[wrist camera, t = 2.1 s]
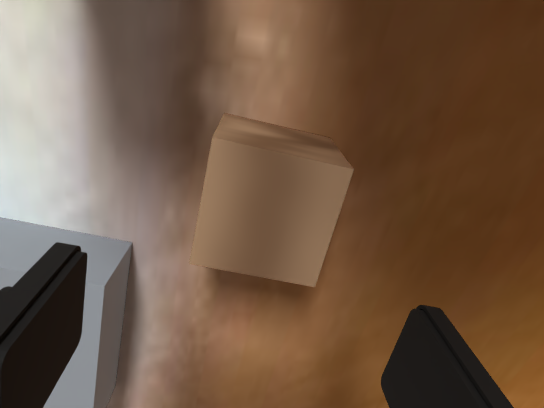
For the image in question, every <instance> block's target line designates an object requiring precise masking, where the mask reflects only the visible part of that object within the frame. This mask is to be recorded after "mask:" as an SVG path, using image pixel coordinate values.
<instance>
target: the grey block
mask: <svg viewBox="0 0 544 408" xmlns="http://www.w3.org/2000/svg"><path fill="white" fill-rule="evenodd" d="M56 242H60V243H66V244H71V245H77V246H80V247H81V252H85V253H87V271H86V284H85V298H84V311H83V324H82V335H81V339H80V342H79V344H78V347H77V349H76V350H75V352H74V354H73V356H72V357H71V359H70V361H69V363H68V364H67V366H66V368H65V370H64V372H63V373H62V375H61V377H60V379H59V380H58V382H57V384H56V386H55V387H54V389H53V391H52V393H51V395H50V396H49V398H48V400H47V402H46V403H45V405H44V407H43V408H106V407H107V405H108V402H109V400H110V397H111V395H112V393H113V390H114V388H115V385H116V378H117V369H118V361H119V352H120V343H121V335H122V326H123V318H124V309H125V301H126V292H127V284H128V275H129V267H130V258H131V250H132V242H128V241H122V240H117V239H112V238H107V237H101V236H96V235H91V234H86V233H80V232H75V231H70V230H64V229H59V228H54V227H49V226H43V225H38V224H33V223H28V222H22V221H17V220H12V219H7V218H1V217H0V290H1V289H2V288H4V287H7V286H10V287H13V286H14V285H15V284H16V283H17V282H18V281H19V280H20V278H21V277H22V276H23V275H24V274H25V273H26V272H27V271H28V270H29V269H30V268H31V267H32V266H33V265H34V264H35V263H36V262H37V261H38V260H39V259H40V258H41V257H42V256H43V255H44V254H45V253H46V252H47V251H48V250H49V249H50V248H51V247H52V246H53V245H54V244H55V243H56Z"/></svg>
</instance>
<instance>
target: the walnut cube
mask: <svg viewBox="0 0 544 408" xmlns="http://www.w3.org/2000/svg"><path fill="white" fill-rule="evenodd" d="M353 171H354V169H353V167H352V166H351V165H350V163H349V162H348V161H347V159H346V158H345V157H344V155H343V154H342V153H341V152H340V150H339V149H338V148H337V146H336V145H335V144H334V142H333V141H332V140H331V138H329V137H325V136H321V135H316V134H312V133H308V132H304V131H299V130H295V129H291V128H287V127H282V126H278V125H274V124H269V123H265V122H261V121H257V120H252V119H248V118H244V117H240V116H235V115H231V114H227V113H224V115H223V117H222V119H221V121H220V123H219V125H218V127H217V129H216V131H215V133H214V135H213V137H212V141H211V147H210V152H209V158H208V163H207V169H206V174H205V179H204V185H203V190H202V196H201V201H200V207H199V212H198V218H197V223H196V228H195V234H194V239H193V245H192V250H191V256H190V261H189V264H192V265H198V266H203V267H208V268H214V269H219V270H224V271H230V272H235V273H241V274H246V275H251V276H257V277H262V278H267V279H273V280H278V281H284V282H289V283H294V284H300V285H305V286H310V287H315V285H316V282H317V279H318V276H319V273H320V270H321V267H322V264H323V261H324V258H325V255H326V252H327V249H328V246H329V243H330V240H331V237H332V234H333V231H334V228H335V225H336V222H337V219H338V216H339V213H340V210H341V207H342V204H343V201H344V198H345V195H346V192H347V189H348V186H349V183H350V180H351V177H352V174H353Z"/></svg>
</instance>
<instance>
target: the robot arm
mask: <svg viewBox="0 0 544 408" xmlns="http://www.w3.org/2000/svg"><path fill="white" fill-rule="evenodd" d="M86 271H87V253H85V252H81V247H80V246H77V245H71V244H66V243H60V242H56V243H55V244H54V245H53V246H52V247H51V248H50V249H49V250H48V251H47V252H46V253H45V254H44V255H43V256H42V257H41V258H40V259H39V260H38V261H37V262H36V263H35V264H34V265H33V266H32V267H31V268H30V269H29V270H28V271H27V272H26V273H25V274H24V275H23V276H22V277H21V278H20V280H19V281H18V282H17V283H16V284H15V285H14V286H13V287H10V286H7V287H4V288H2V289H1V290H0V408H43V407H44V405H45V403H46V402H47V400H48V398H49V396H50V395H51V393H52V391H53V389H54V387H55V386H56V384H57V382H58V380H59V379H60V377H61V375H62V373H63V372H64V370H65V368H66V366H67V364H68V363H69V361H70V359H71V357H72V356H73V354H74V352H75V350H76V349H77V347H78V344H79V342H80V339H81V335H82V324H83V311H84V298H85V284H86ZM381 386H382V390H383V393H384V395H385V398H386V400H387V403H388V405H389V408H514V407H513V406H512V405H511V403H510V402H509V401H508V399H507V398H506V397H505V395H504V394H503V392H502V391H501V390H500V388H499V387H498V386H497V384H496V383H495V382H494V380H493V379H492V378H491V376H490V375H489V373H488V372H487V371H486V369H485V368H484V367H483V365H482V364H481V363H480V361H479V360H478V358H477V357H476V356H475V354H474V353H473V352H472V350H471V349H470V348H469V346H468V345H467V344H466V342H465V341H464V339H463V338H462V337H461V335H460V334H459V333H458V331H457V330H456V329H455V327H454V326H453V325H452V323H451V322H450V320H449V319H448V318H447V316H446V315H445V314H444V312H443V311H442V310H441V309H440V308H436V307H430V306H425V305H419V306H418V307H417V308H416V309H413V310H411V312H410V314H409V316H408V318H407V321H406V323H405V325H404V327H403V330H402V332H401V334H400V336H399V339H398V341H397V343H396V345H395V348H394V350H393V352H392V354H391V356H390V359H389V361H388V363H387V365H386V368H385V370H384V372H383V374H382V378H381Z"/></svg>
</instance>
